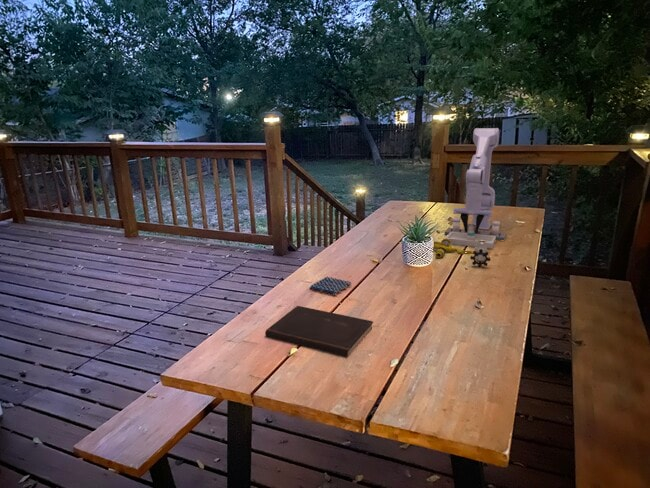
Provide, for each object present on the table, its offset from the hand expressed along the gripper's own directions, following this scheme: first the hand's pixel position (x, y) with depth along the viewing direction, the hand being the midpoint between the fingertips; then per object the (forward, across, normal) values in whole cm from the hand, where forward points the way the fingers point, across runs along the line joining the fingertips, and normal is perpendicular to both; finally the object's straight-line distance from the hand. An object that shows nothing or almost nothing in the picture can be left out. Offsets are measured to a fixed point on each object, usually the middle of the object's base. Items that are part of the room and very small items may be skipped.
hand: (471, 232), depth 182 cm
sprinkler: (+5, -6, -16) cm, 18 cm away
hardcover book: (+5, -22, -90) cm, 93 cm away
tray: (+4, 0, 0) cm, 4 cm away
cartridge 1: (+4, -8, +10) cm, 14 cm away
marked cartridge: (+4, 0, 0) cm, 4 cm away
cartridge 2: (+4, +8, +10) cm, 14 cm away
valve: (+5, +7, -21) cm, 23 cm away
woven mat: (+5, -32, -64) cm, 71 cm away
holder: (+4, 0, +10) cm, 11 cm away
